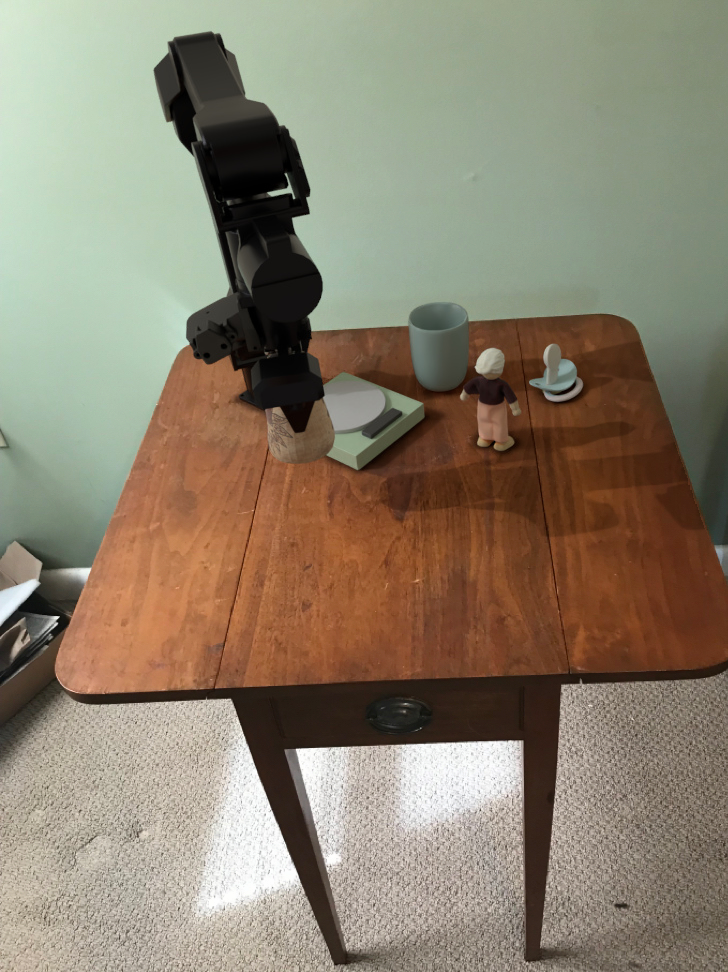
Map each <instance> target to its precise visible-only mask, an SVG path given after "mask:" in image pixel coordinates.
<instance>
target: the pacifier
mask: <svg viewBox="0 0 728 972" xmlns="http://www.w3.org/2000/svg"><path fill="white" fill-rule="evenodd" d="M543 351H544V352H543V363H544V365H545V366H546V368H545V369H544V371H543V377H539V378H538V377H537V378H533V379H530V380H529V381H528V382H529V385H530V386H532V387H534V388H537V389H539V390H542V393H543V394H544V395H543V396H544V397H545V399H546V400H548V401H550V402H553V403H559V402H560V403H561V402H565V401H569V400H571V399H573V398H574V397H576V396H577V395H579V394H580V393H581V391H582V390H583V387H584V383H583V382H584V381H583V380H582V378H580V377H578V376H577V375H578V370H577V367H576V365H575V364H574V362H573V361H571V360H570V359H567V358H562V351H561V348H560V346H559V344H557V343H551V344H549V345H548V346H546V348H545V349H544V350H543ZM574 384H575V386H574V388H573V389H572V390H571V391H568V392H567V393H565V394H560V393H561V392H562V391H565V390H566V391H567V390H568V389H569V388H571V387H572V386H573V385H574ZM557 394H559V395H557Z"/></svg>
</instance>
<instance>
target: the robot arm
mask: <svg viewBox="0 0 728 972" xmlns="http://www.w3.org/2000/svg"><path fill="white" fill-rule="evenodd" d="M166 44H167V50H168V52H167V53H166V54H165V55H164V56H163V58H161V60H160V61H159V62H158V63H157V64H156V65H155V66H154V67H153V70H152V71H153V77H154V81H155V82H154V83H155V87H156V92H157V94H158V100H159V103H160V107H161V110H162V113H163V117H164V119H165V120H164V121H165V123H172V127H173V130H174V133H175V135H176V138H177V139H178V140H179V143H181V145H182V146H183V147H184V148H185V149H186V150H187V151H188V152H189V154H190V155H191V156H192V157H193V159H194V162H195V166H196V169H197V173H198V177H199V180H200V183H201V186H202V189H203V192H204V196H205V199H206V202H207V205H208V209H209V213H210V217H211V220H212V224H213V228H214V232H215V236H216V239H217V243H218V247H219V252H220V255H221V260H222V263H223V266H224V270H225V275H226V279H227V283H228V286H229V287H228V291H227V293H226V296H224V297H220V298H219V299H217V300H215V301H214V302H211V303H209V304H208V305H206V306H204V307H202V308H200V309H199V310H197V311H195V312H194V313H192V314H191V315H189V316H188V318H187V319H186V326H185V327H186V328H185V339H186V340H187V342H188V343H189V346H190V347H191V349H192V355H193V358H194V359H196V360H202V361H203V363H204V364H205V365H208V366H210V365H213V364H216V363H218V362H219V361H221V360H223V359H224V358H227V357H228V358H229V360H230V364H231V367H232V369H233V371H234V372H238V371H239V370H241V372H242V376H243V380H244V384H245V388H246V390H244V391H243V392H241V393H240V394H238V398H239V400H240V401H241V402H245V403H247V404H249V405H251V406H252V407H255V408H258V409H260V410H262V411H264V412H265V409H270V408H276V407H280V408H281V410H282V412H283V413H284V415H285V417H286V419H287V420H288V422H289V424H290V426H291V428H292V429H293V431H294V433H301V432H305V430H306V427H307V424H308V421H309V418H310V415H311V412H312V409H313V406H314V403H315V401H319V400H321V399H322V398H323V397H324V396H325V393H324V387H323V385H324V382H323V376H322V372H321V371H322V370H321V366H320V361H319V358H318V357H316V356H315V355H313V354H311V353H309V348H310V341H311V340H313V337H312V331H313V330H312V325H311V319H310V317H309V316H310V314H312V313H313V312H314V311H315V309H316V308H317V307H318V306H319V303H320V302H321V299H322V296H323V293H324V281H323V277H322V274H321V272H320V270H319V269H318V267H317V265H316V263H315V262H314V260H313V259H312V256H311V254H309V252H308V250H307V249H306V248H305V246H304V244H303V243H302V241H301V239H300V237H299V236H298V235H297V233H296V230H295V226H294V220H293V219H294V218H299V217H303V216H308V215H310V214H311V212H310V211H311V210H310V207H309V203H308V199H307V198H310V197H311V190H312V189H311V186H310V183H309V180H308V176H307V173H306V171H305V167H304V162H303V160H302V158H301V157H302V156H301V154H300V151H299V150H300V149H299V148H298V144H297V142H296V140H295V138H293V137H292V136H291V134H290V130H289V128H287V127H286V125H284V124H282V125H281V124H280V123H279V121H278V119H277V117H276V115H275V114H274V112H273V111H272V110H271V109H270V107H269V106H268V105H267V104H266V103H264V102H261V101H257V100H254V99H253V100H252V99H250V98H249V99H248V97H246V90H245V86H244V83H243V80H242V75H241V72H240V68H239V65H238V61H237V56H236V54H235V53H233V52H232V51H230V50H229V49H227V48H226V47H225V43H224V40H223V37H222V34H221V33H220V32H216V33H215V32H213V31H212V30H209V31H204V32H197V33H191V34H185V35H177V36H174V37H173V38H172V40H168V41H167V43H166ZM289 186H290V188H291V190H292V192H286V193H282V194H277V195H271V194H270V193H273V192H276V191H277V192H278V191H281V190H287V189H288V187H289ZM290 347H291V352H292V354H290V355H289V349H288V348H290ZM275 350H277V353H278V356H277V357H271V358H267V357H268V356H269V355H270V354H275V353H276V352H275ZM302 351H303V352H302Z"/></svg>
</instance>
